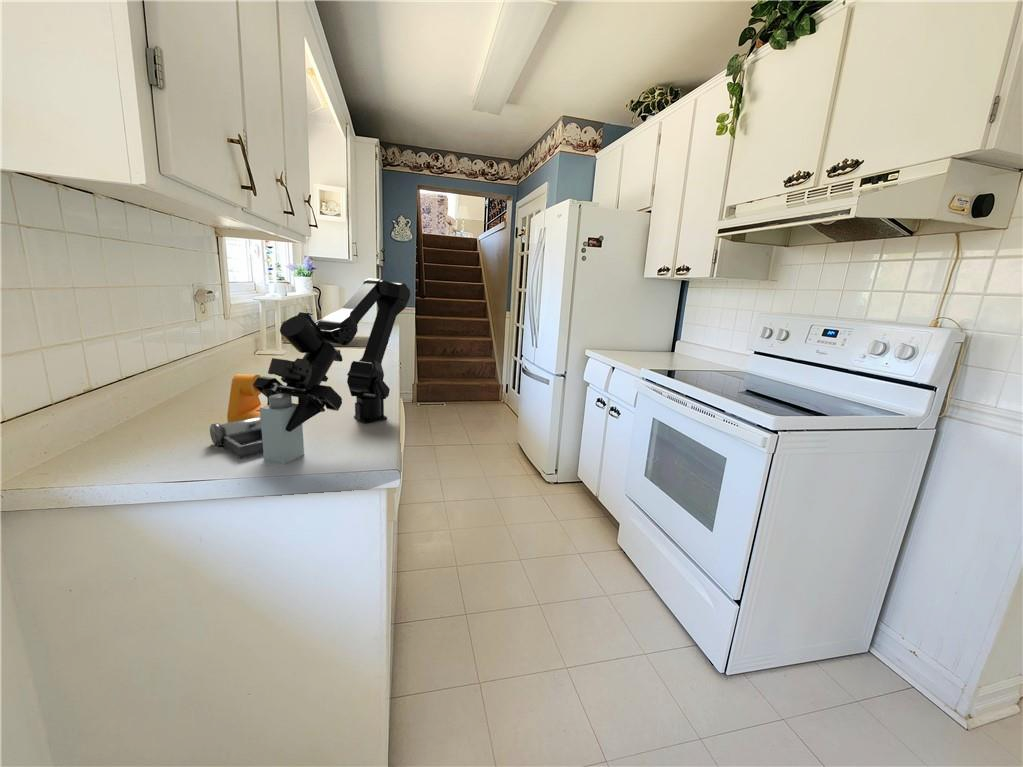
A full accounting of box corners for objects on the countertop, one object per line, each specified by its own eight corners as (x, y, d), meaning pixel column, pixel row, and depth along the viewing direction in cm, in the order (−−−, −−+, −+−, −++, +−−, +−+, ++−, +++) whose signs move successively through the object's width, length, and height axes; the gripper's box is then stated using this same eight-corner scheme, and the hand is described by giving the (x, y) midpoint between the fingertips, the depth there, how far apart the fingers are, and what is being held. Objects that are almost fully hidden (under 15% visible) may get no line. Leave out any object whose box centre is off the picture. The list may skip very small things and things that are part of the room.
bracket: (258, 428, 102) (254, 380, 100) (228, 426, 102) (223, 378, 100) (281, 414, 113) (277, 371, 110) (253, 413, 113) (249, 369, 110)
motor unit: (273, 428, 102) (271, 409, 101) (300, 443, 95) (299, 422, 94) (211, 442, 92) (208, 421, 91) (236, 459, 84) (234, 437, 83)
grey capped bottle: (284, 450, 90) (280, 392, 87) (304, 454, 89) (300, 395, 86) (263, 459, 85) (258, 397, 82) (284, 463, 84) (279, 401, 81)
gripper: (256, 338, 88) (211, 402, 80) (330, 347, 83) (288, 416, 75) (289, 369, 97) (251, 428, 89) (357, 378, 92) (323, 442, 84)
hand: (276, 428), depth 84 cm, fingers closed on grey capped bottle, 5 cm apart
